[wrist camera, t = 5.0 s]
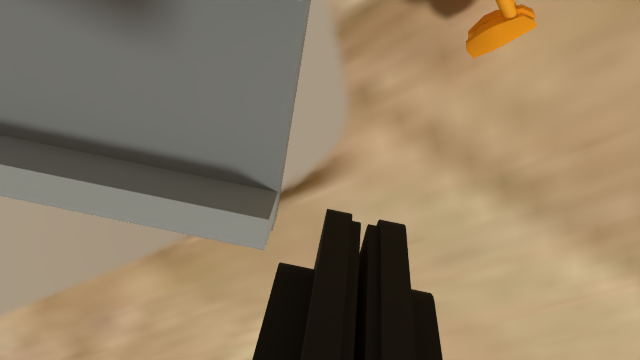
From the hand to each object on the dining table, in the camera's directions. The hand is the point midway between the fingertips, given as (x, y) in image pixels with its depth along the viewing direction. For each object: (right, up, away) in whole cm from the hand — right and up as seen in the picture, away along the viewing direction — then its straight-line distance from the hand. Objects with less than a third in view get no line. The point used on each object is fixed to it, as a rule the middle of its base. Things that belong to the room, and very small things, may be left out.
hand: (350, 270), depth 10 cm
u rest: (-9, +7, +8) cm, 14 cm away
